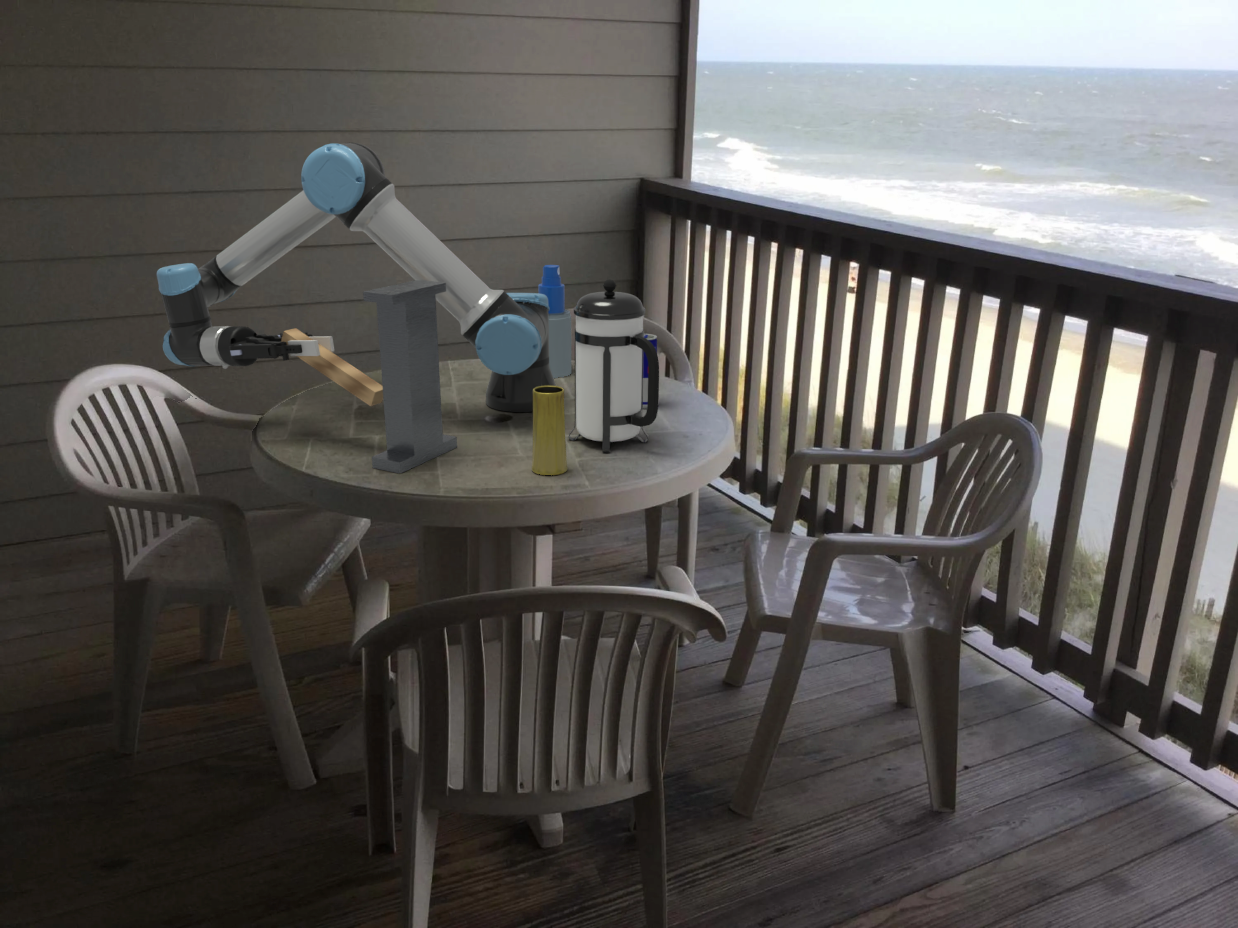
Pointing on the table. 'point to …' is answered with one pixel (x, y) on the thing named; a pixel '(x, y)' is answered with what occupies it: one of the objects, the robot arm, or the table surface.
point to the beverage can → (645, 369)
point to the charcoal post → (410, 374)
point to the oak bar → (340, 371)
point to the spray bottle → (557, 322)
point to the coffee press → (612, 368)
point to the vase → (549, 431)
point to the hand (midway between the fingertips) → (324, 346)
